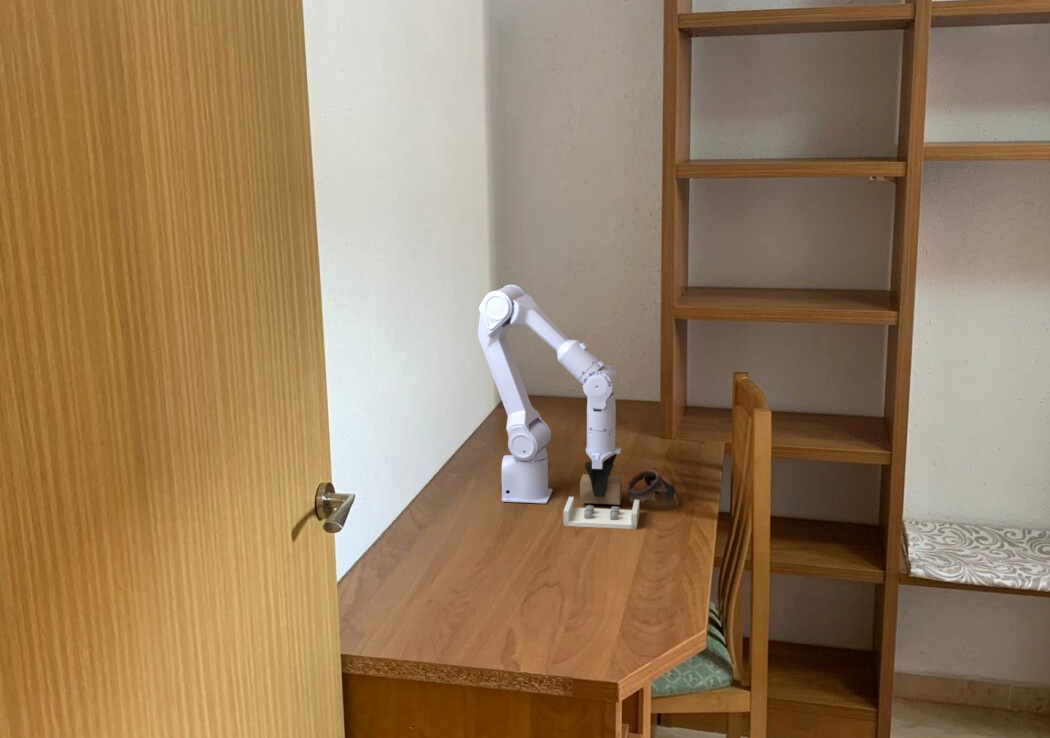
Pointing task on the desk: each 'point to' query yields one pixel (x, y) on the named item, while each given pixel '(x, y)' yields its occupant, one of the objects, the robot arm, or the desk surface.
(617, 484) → the tan rectangular block
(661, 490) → the pottery mug
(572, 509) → the peg stand
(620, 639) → the desk surface
